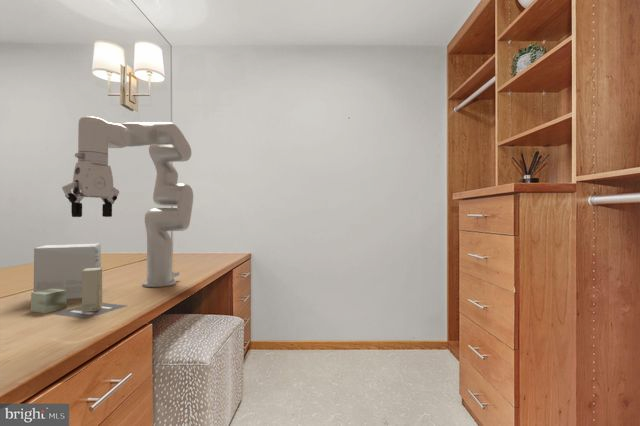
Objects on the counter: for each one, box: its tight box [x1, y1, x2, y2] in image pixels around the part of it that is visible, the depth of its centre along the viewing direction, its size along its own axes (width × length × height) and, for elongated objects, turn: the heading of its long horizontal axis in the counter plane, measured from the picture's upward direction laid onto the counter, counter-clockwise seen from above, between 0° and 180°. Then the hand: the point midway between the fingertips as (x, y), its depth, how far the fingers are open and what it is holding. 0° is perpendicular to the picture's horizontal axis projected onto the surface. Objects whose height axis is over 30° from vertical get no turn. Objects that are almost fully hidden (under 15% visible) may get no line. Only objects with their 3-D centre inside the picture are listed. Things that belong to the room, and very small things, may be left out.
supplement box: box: [33, 242, 102, 300], centre depth 121 cm, size 17×13×18 cm
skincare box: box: [81, 266, 103, 312], centre depth 103 cm, size 6×4×12 cm
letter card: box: [52, 302, 127, 320], centre depth 103 cm, size 14×13×1 cm
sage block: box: [30, 289, 68, 314], centre depth 103 cm, size 6×6×6 cm
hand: (92, 216), depth 103 cm, fingers open, 9 cm apart
